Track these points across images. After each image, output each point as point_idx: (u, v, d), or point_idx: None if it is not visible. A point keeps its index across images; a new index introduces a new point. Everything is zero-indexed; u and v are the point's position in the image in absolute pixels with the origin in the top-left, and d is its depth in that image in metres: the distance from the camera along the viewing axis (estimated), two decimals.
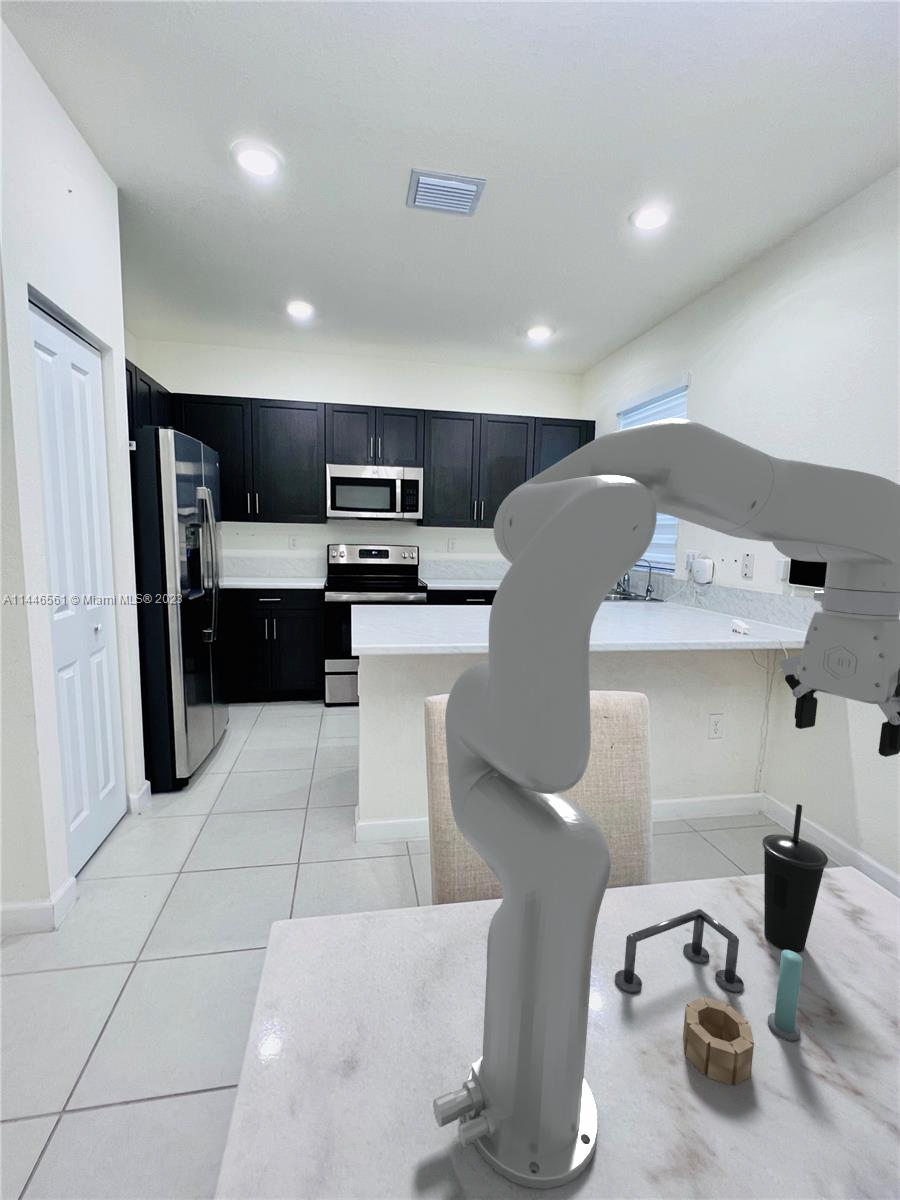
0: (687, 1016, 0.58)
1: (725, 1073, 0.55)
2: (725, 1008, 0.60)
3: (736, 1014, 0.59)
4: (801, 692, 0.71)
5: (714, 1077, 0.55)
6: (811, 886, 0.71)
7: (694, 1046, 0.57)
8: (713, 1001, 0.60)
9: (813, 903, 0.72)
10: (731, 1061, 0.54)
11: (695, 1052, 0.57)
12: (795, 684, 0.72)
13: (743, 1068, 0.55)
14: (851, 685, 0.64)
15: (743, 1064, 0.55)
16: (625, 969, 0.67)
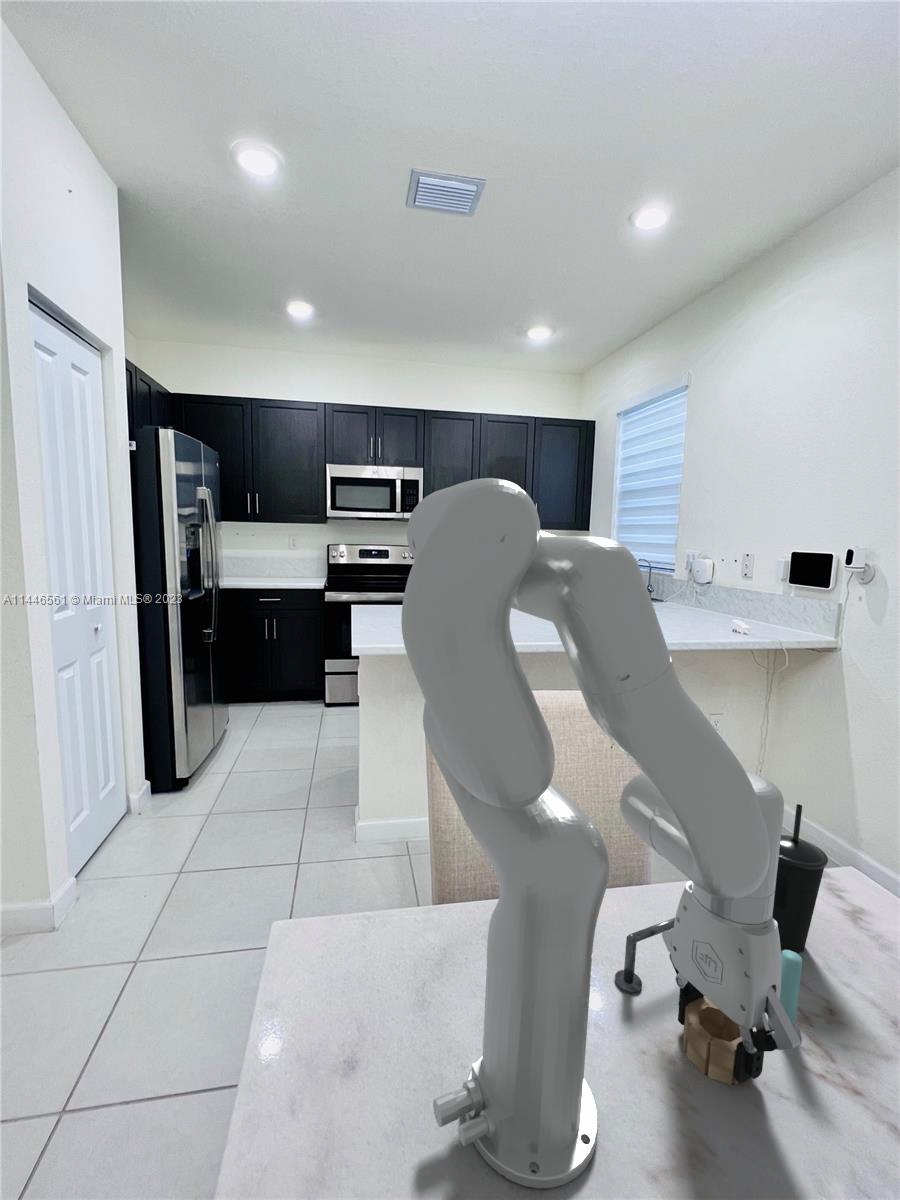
0: (687, 1016, 0.58)
1: (725, 1073, 0.55)
2: None
3: None
4: (683, 981, 0.60)
5: (714, 1077, 0.55)
6: (811, 886, 0.71)
7: (694, 1046, 0.57)
8: None
9: (813, 903, 0.72)
10: (731, 1061, 0.55)
11: (695, 1052, 0.57)
12: None
13: None
14: (717, 994, 0.54)
15: None
16: (625, 969, 0.67)
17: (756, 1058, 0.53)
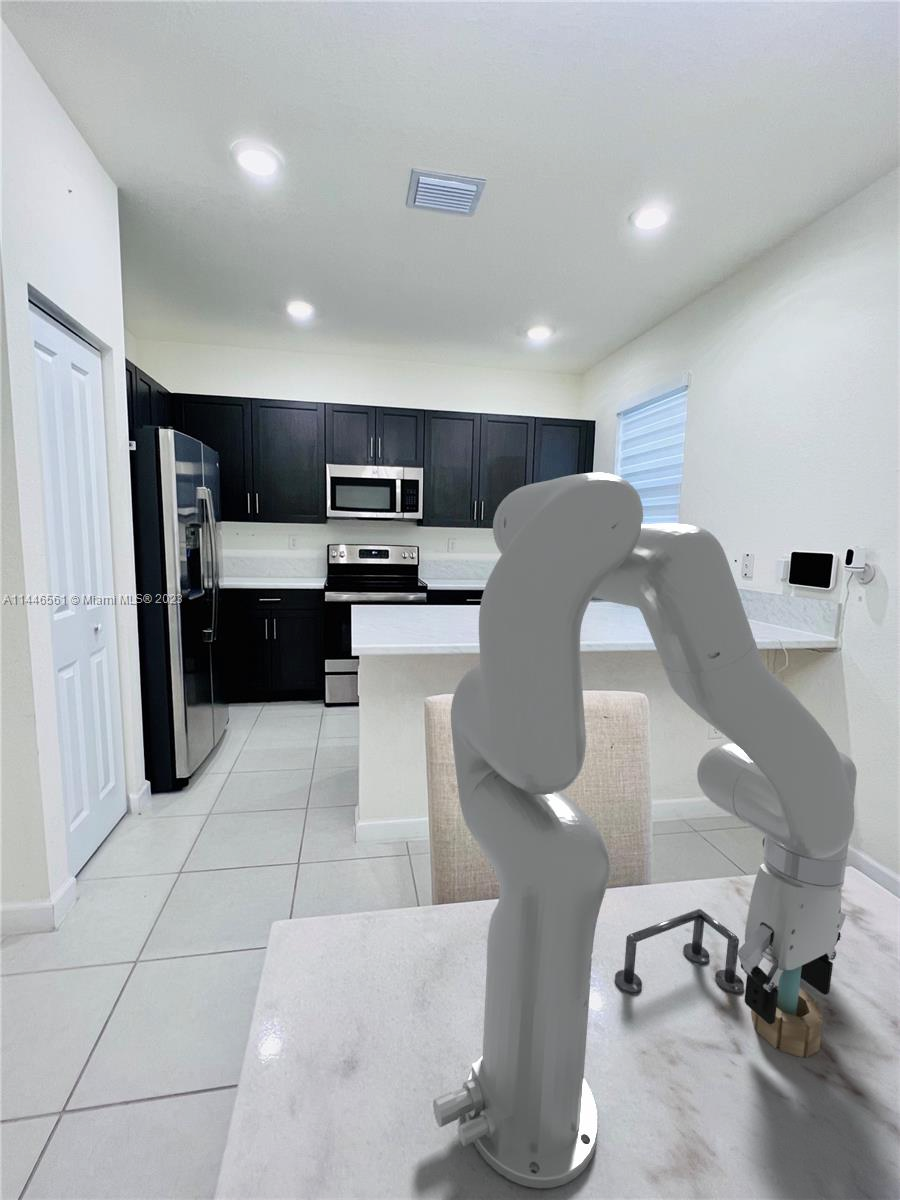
0: (778, 979, 0.64)
1: (754, 1014, 0.62)
2: (814, 1014, 0.59)
3: (814, 1021, 0.58)
4: None
5: (752, 1014, 0.63)
6: None
7: None
8: (817, 1008, 0.60)
9: None
10: None
11: None
12: None
13: (766, 1027, 0.60)
14: None
15: (766, 1022, 0.60)
16: (625, 969, 0.67)
17: (753, 988, 0.58)
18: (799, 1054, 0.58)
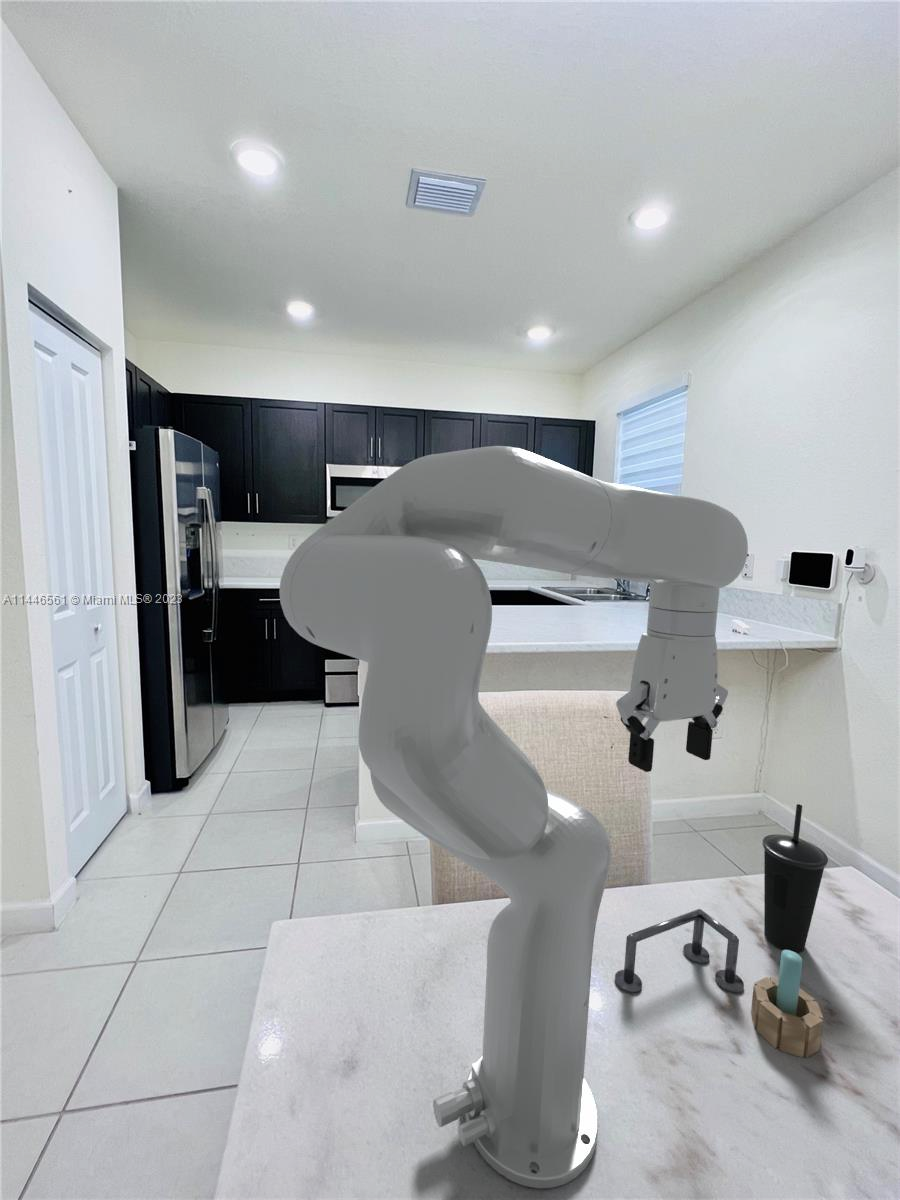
0: (778, 979, 0.64)
1: (754, 1014, 0.62)
2: (814, 1014, 0.59)
3: (814, 1021, 0.58)
4: None
5: (752, 1014, 0.63)
6: (811, 886, 0.71)
7: None
8: (817, 1008, 0.60)
9: (813, 903, 0.72)
10: (756, 1005, 0.61)
11: None
12: None
13: (766, 1027, 0.60)
14: None
15: (766, 1022, 0.60)
16: (625, 969, 0.67)
17: (633, 742, 0.63)
18: (799, 1054, 0.58)
